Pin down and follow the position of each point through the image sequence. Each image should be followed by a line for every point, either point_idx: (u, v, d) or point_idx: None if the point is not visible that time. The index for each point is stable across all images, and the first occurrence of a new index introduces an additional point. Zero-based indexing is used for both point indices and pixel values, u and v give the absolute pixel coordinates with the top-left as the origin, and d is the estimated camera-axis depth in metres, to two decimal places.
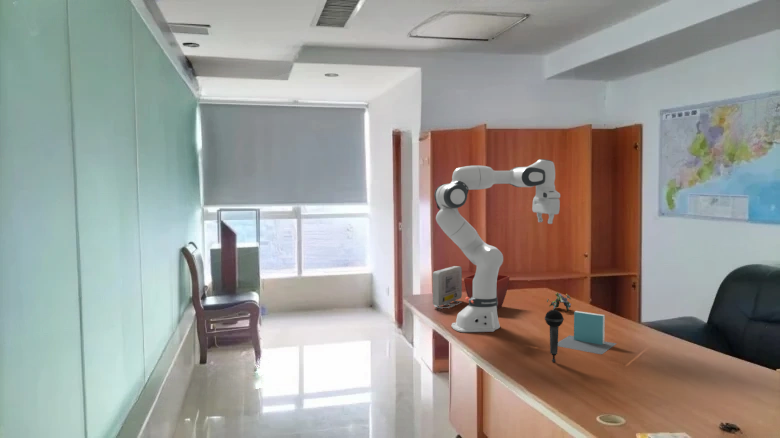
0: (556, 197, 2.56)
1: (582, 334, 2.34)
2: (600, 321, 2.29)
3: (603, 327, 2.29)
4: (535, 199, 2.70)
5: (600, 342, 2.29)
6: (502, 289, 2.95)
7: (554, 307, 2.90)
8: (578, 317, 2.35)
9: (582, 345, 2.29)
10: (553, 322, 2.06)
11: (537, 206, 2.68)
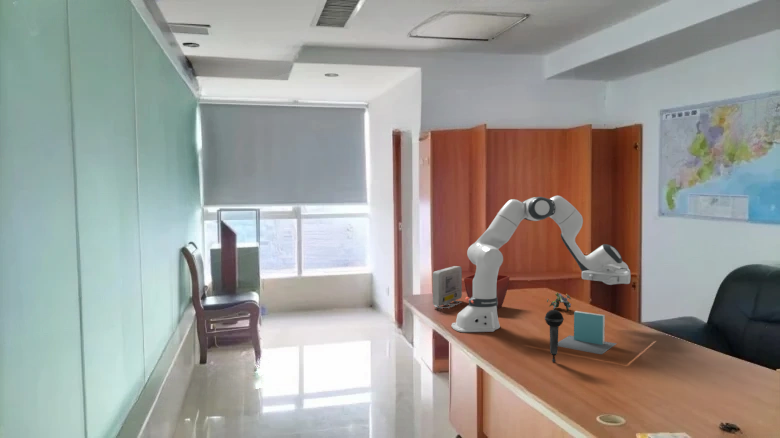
0: None
1: (582, 334, 2.34)
2: (600, 321, 2.29)
3: (603, 327, 2.29)
4: (594, 270, 2.54)
5: (600, 342, 2.29)
6: (502, 289, 2.95)
7: (554, 307, 2.90)
8: (578, 317, 2.35)
9: (582, 345, 2.29)
10: (553, 322, 2.06)
11: (595, 271, 2.50)
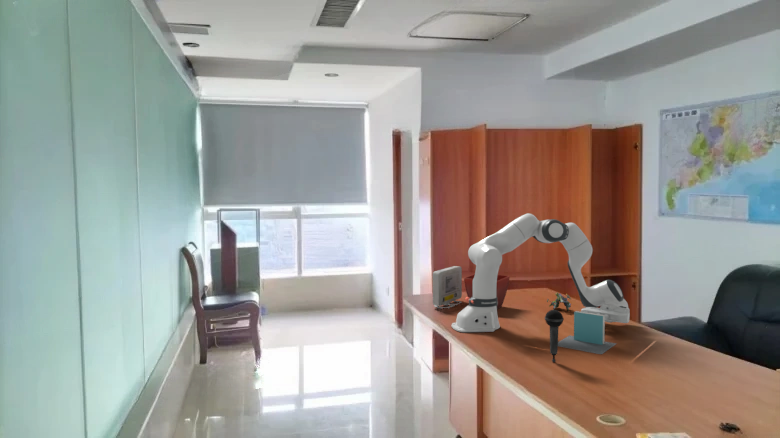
0: None
1: (582, 334, 2.34)
2: (600, 321, 2.29)
3: (603, 327, 2.29)
4: (593, 307, 2.55)
5: (600, 342, 2.29)
6: (502, 289, 2.95)
7: (554, 307, 2.90)
8: (578, 317, 2.35)
9: (582, 345, 2.29)
10: (553, 322, 2.06)
11: (594, 309, 2.51)
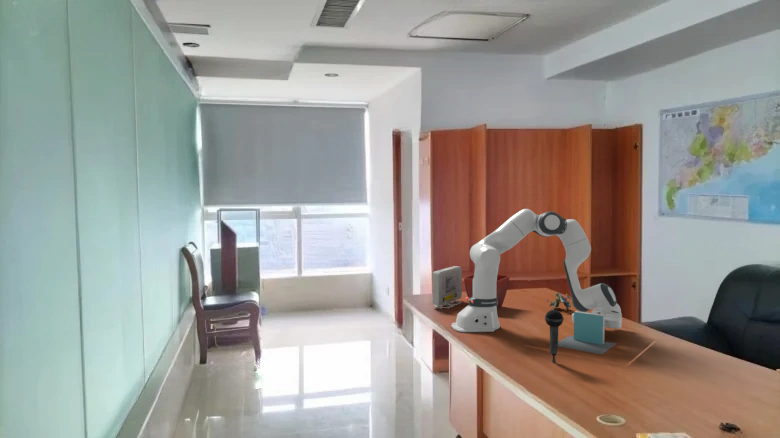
0: None
1: (582, 334, 2.34)
2: (600, 321, 2.29)
3: (603, 327, 2.29)
4: None
5: (600, 342, 2.29)
6: (502, 289, 2.95)
7: (554, 307, 2.90)
8: (578, 317, 2.35)
9: (582, 345, 2.29)
10: (553, 322, 2.06)
11: None
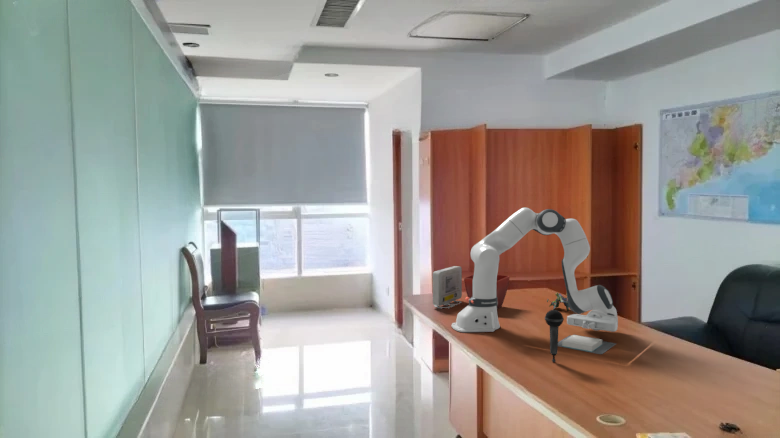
0: None
1: None
2: None
3: (596, 346, 2.23)
4: None
5: None
6: (502, 289, 2.95)
7: (554, 307, 2.90)
8: None
9: None
10: (553, 322, 2.06)
11: (581, 316, 2.39)
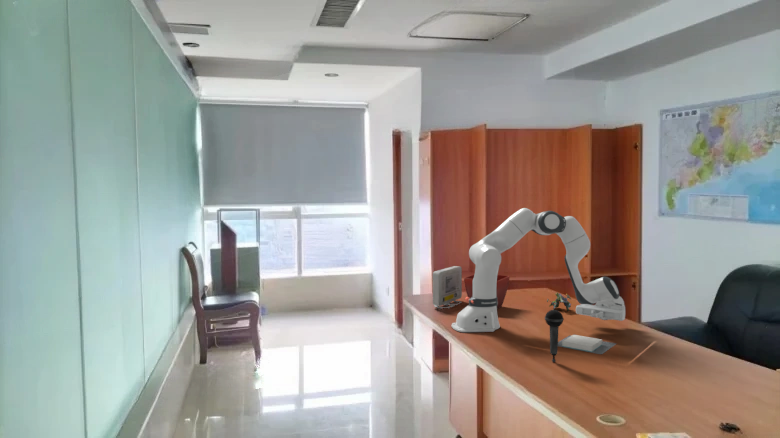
0: None
1: None
2: None
3: (596, 346, 2.23)
4: (588, 304, 2.50)
5: None
6: (502, 289, 2.95)
7: (554, 307, 2.90)
8: None
9: None
10: (553, 322, 2.06)
11: (590, 306, 2.47)
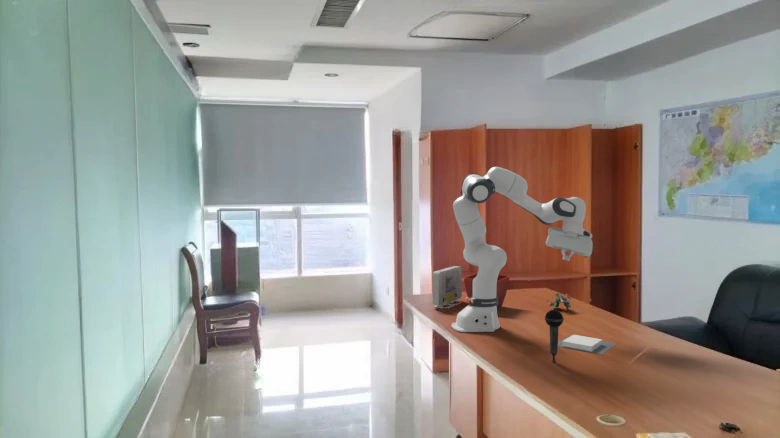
0: None
1: None
2: None
3: (596, 346, 2.23)
4: (557, 232, 2.51)
5: None
6: (502, 289, 2.95)
7: (554, 307, 2.90)
8: None
9: None
10: (553, 322, 2.06)
11: (560, 239, 2.50)
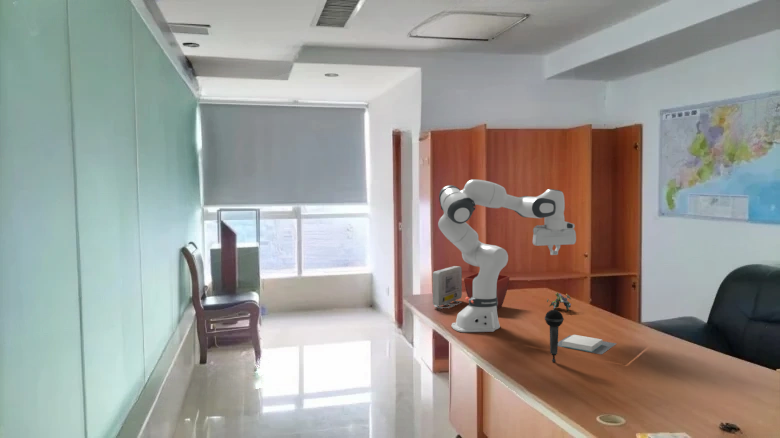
0: None
1: None
2: None
3: (596, 346, 2.23)
4: (543, 231, 2.52)
5: None
6: (502, 289, 2.95)
7: (554, 307, 2.90)
8: None
9: None
10: (553, 322, 2.06)
11: (546, 238, 2.52)
